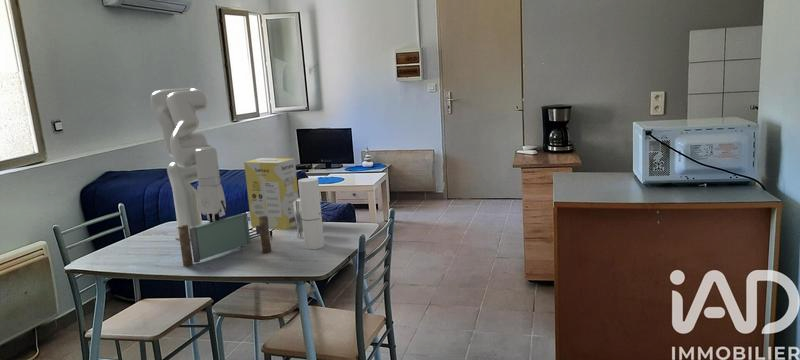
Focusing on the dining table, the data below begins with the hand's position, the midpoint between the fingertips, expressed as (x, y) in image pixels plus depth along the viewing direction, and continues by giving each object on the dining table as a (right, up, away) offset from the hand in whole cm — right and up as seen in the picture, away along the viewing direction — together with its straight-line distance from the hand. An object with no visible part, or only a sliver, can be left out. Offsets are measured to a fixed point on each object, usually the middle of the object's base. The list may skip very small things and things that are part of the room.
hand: (215, 230), depth 210 cm
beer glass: (+30, -4, +16) cm, 34 cm away
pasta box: (+15, -1, +36) cm, 39 cm away
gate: (+3, -8, -1) cm, 9 cm away
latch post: (+19, -8, -1) cm, 20 cm away
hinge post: (-6, -11, -10) cm, 16 cm away
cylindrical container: (+36, -6, +2) cm, 36 cm away
